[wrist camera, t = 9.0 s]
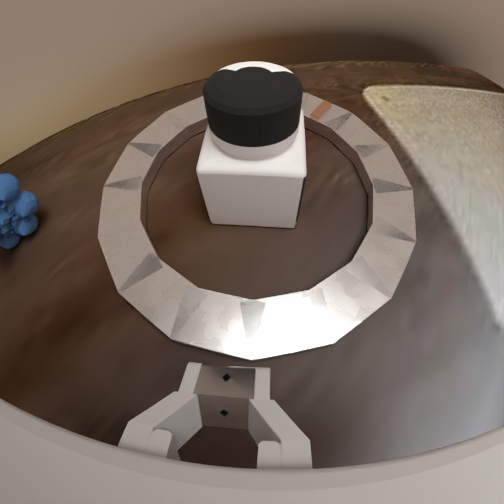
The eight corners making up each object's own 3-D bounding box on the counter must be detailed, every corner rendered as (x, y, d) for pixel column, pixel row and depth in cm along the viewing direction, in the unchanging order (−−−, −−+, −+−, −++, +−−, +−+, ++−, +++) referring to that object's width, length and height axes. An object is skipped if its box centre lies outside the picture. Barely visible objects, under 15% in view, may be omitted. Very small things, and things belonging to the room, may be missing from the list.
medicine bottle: (296, 230, 24) (317, 115, 14) (210, 225, 25) (178, 112, 14) (296, 164, 27) (309, 54, 17) (221, 161, 28) (204, 52, 17)
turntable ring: (59, 230, 25) (49, 221, 23) (230, 76, 34) (228, 65, 33) (305, 431, 18) (309, 436, 16) (436, 173, 27) (444, 162, 25)
